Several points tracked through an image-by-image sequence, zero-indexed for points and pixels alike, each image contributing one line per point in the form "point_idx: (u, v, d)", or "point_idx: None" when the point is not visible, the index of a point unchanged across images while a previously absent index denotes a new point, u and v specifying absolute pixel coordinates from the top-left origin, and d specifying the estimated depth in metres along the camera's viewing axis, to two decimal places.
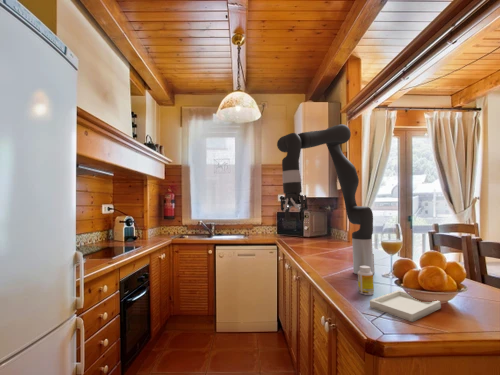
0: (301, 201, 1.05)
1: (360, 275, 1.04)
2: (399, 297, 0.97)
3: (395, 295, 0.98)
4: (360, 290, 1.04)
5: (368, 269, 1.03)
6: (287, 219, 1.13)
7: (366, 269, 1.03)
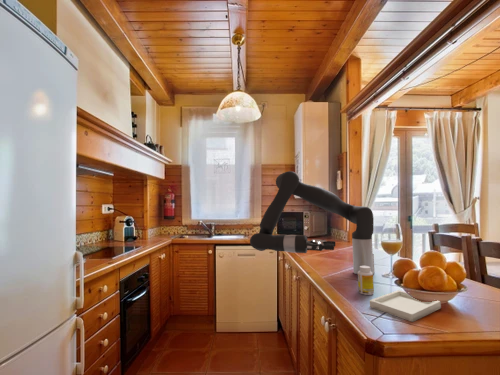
0: None
1: (360, 275, 1.04)
2: (399, 297, 0.97)
3: (395, 295, 0.98)
4: (360, 290, 1.04)
5: (368, 269, 1.03)
6: (334, 245, 1.13)
7: (366, 269, 1.03)
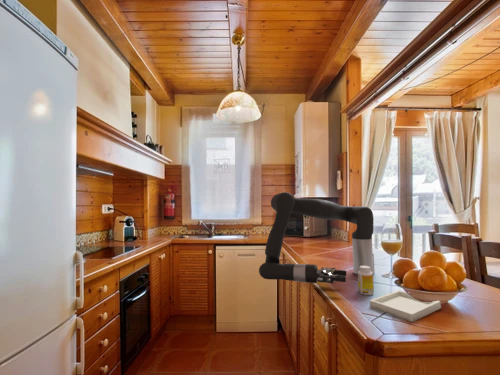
0: None
1: (360, 275, 1.04)
2: (399, 297, 0.97)
3: (395, 295, 0.98)
4: (360, 290, 1.04)
5: (368, 269, 1.03)
6: (345, 274, 1.11)
7: (366, 269, 1.03)
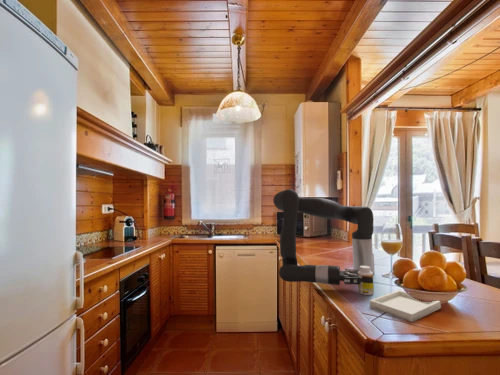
0: None
1: (360, 275, 1.04)
2: (399, 297, 0.97)
3: (395, 295, 0.98)
4: (360, 290, 1.04)
5: (368, 269, 1.03)
6: None
7: (366, 269, 1.03)
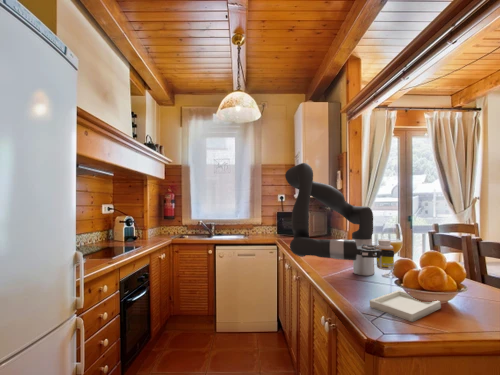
0: None
1: None
2: (399, 297, 0.97)
3: (395, 295, 0.98)
4: (379, 265, 0.95)
5: (388, 242, 0.95)
6: None
7: (386, 242, 0.95)
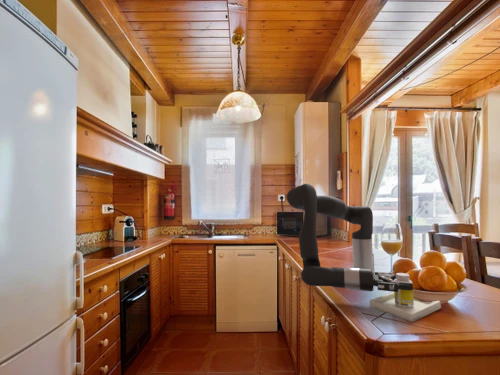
0: None
1: None
2: None
3: None
4: (398, 302, 0.89)
5: (407, 277, 0.89)
6: None
7: (405, 277, 0.89)
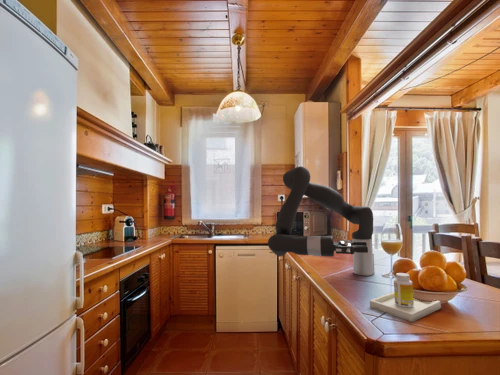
0: None
1: (398, 284, 0.89)
2: None
3: None
4: (398, 302, 0.89)
5: (407, 277, 0.89)
6: (365, 246, 0.99)
7: (405, 277, 0.89)
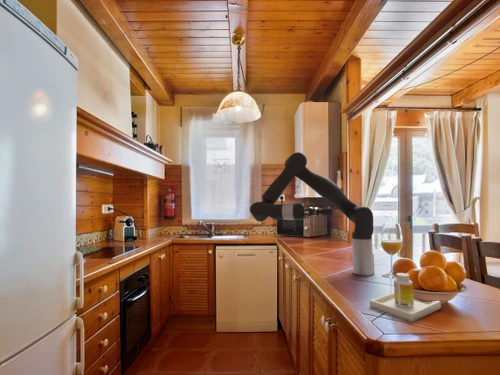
0: (310, 214, 1.10)
1: (398, 284, 0.89)
2: None
3: None
4: (398, 302, 0.89)
5: (407, 277, 0.89)
6: (330, 212, 1.17)
7: (405, 277, 0.89)
